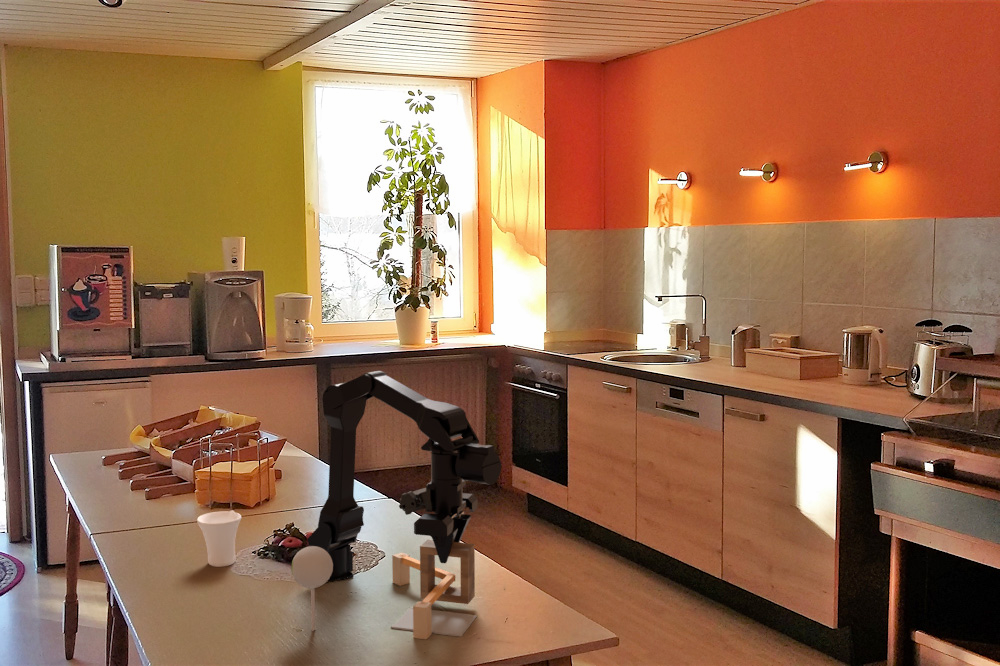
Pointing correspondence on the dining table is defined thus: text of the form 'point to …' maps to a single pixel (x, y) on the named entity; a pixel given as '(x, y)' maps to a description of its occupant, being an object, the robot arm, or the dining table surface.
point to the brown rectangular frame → (467, 572)
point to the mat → (439, 622)
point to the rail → (423, 609)
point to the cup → (220, 536)
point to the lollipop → (312, 571)
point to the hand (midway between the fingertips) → (447, 559)
